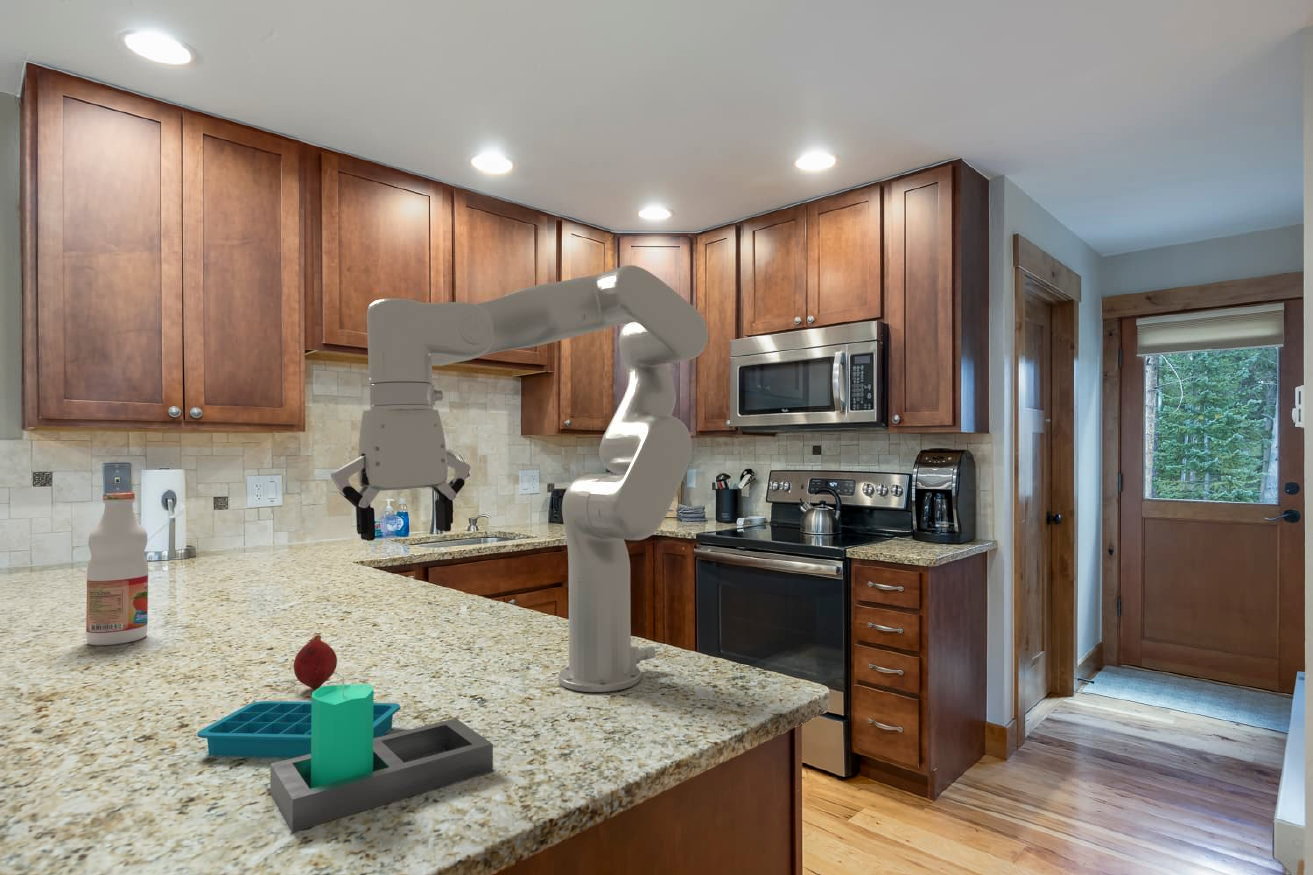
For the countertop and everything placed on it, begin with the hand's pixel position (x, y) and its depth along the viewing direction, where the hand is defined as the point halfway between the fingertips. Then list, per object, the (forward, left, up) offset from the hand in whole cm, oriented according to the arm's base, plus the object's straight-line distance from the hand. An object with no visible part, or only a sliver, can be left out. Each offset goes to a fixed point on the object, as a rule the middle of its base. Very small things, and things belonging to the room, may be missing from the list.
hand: (407, 534), depth 90 cm
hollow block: (+7, +12, -25) cm, 28 cm away
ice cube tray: (+11, -6, -25) cm, 28 cm away
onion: (+5, -26, -25) cm, 36 cm away
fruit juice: (+27, -82, -25) cm, 90 cm away
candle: (+11, +12, -25) cm, 30 cm away
